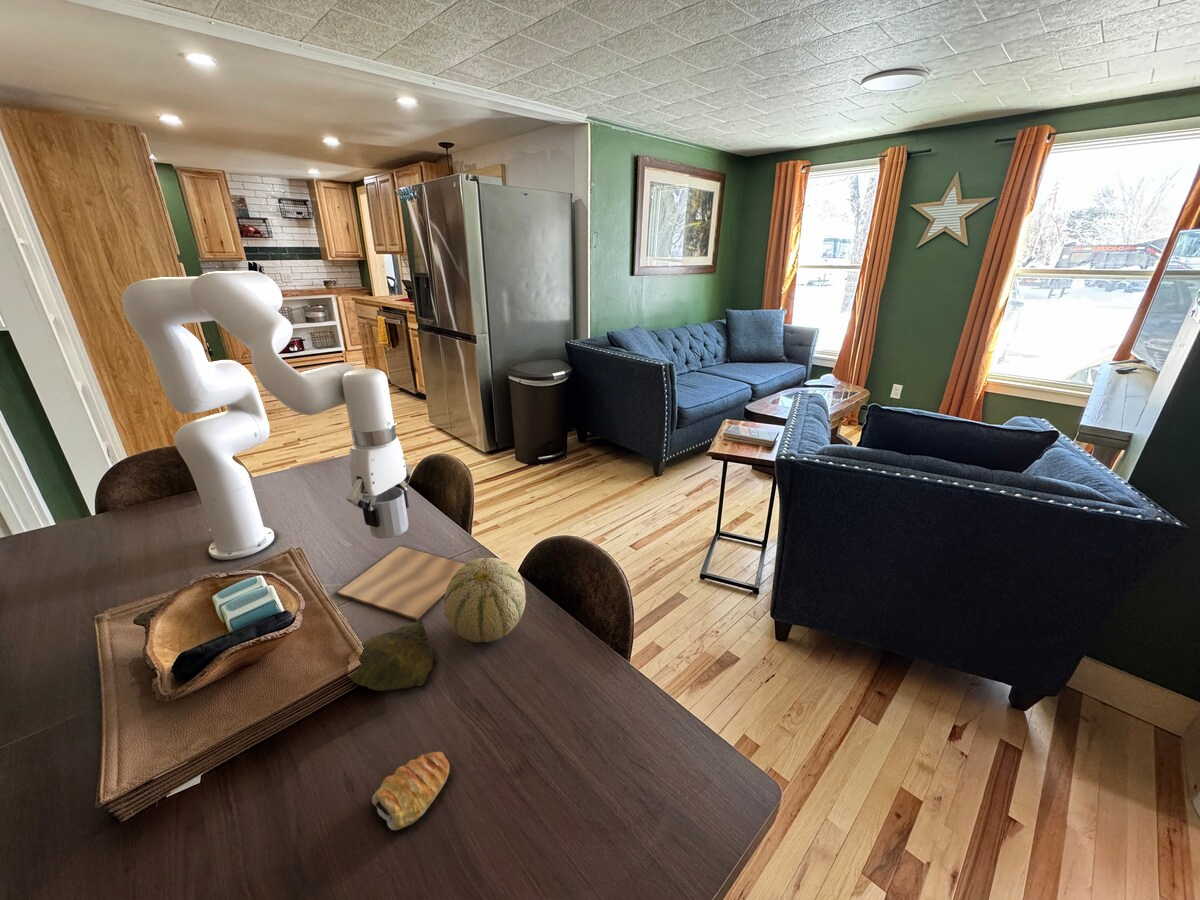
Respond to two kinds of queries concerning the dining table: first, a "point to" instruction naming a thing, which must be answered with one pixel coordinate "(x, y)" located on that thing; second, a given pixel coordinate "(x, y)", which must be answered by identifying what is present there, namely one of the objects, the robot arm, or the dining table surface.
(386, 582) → the board
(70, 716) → the dining table surface
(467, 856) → the dining table surface
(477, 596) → the cantaloupe
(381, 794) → the pastry
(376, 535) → the pot
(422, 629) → the pottery fragment
